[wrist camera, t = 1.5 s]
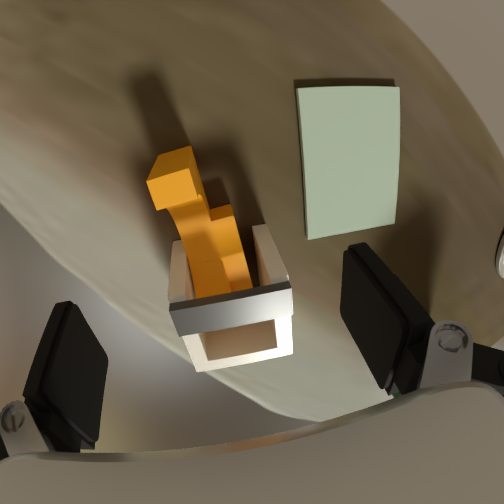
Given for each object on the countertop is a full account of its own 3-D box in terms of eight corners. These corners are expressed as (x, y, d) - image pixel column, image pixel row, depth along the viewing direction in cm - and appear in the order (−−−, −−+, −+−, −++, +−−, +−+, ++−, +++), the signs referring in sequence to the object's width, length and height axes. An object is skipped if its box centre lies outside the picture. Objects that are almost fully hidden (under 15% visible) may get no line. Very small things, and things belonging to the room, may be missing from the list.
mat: (395, 86, 22) (399, 87, 21) (391, 220, 29) (394, 223, 28) (295, 88, 21) (297, 88, 21) (306, 236, 28) (308, 239, 28)
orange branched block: (247, 266, 29) (260, 313, 24) (201, 278, 29) (204, 327, 24) (213, 138, 23) (218, 159, 17) (158, 154, 23) (146, 181, 17)
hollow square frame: (265, 223, 27) (291, 281, 20) (273, 297, 31) (295, 360, 24) (172, 241, 26) (167, 305, 19) (194, 312, 31) (197, 379, 24)
